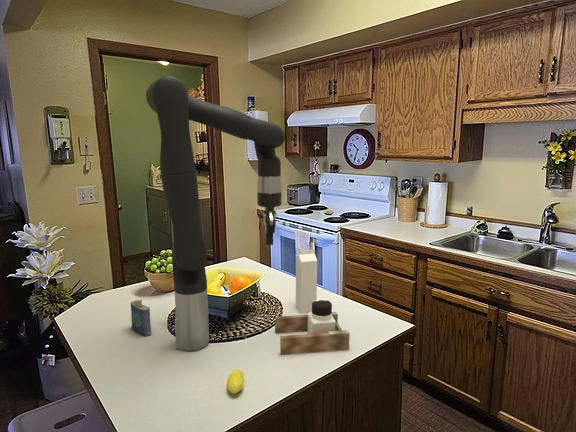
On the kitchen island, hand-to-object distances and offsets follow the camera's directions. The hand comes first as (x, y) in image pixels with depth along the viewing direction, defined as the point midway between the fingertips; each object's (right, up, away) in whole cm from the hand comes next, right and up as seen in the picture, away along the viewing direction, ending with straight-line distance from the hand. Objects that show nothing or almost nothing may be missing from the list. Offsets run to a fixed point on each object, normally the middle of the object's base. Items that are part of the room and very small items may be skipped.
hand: (269, 244), depth 124 cm
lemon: (-7, -33, -28) cm, 44 cm away
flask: (-41, -28, -1) cm, 49 cm away
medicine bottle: (+16, -29, -5) cm, 33 cm away
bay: (+13, -29, -6) cm, 32 cm away
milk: (+12, -25, +16) cm, 32 cm away
